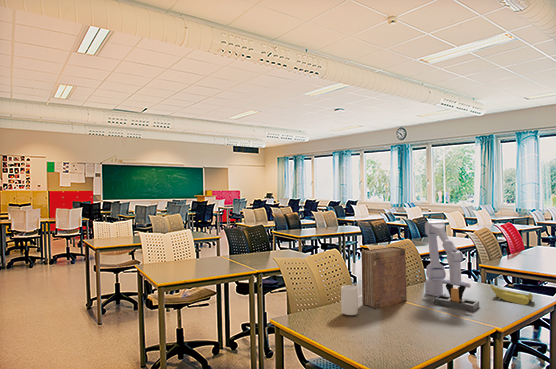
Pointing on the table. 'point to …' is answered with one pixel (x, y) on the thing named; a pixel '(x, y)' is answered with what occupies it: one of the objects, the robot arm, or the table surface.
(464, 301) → the grey compartment tray
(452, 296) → the peg
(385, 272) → the book
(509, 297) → the banana
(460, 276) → the robot arm
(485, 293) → the table surface
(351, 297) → the cup
